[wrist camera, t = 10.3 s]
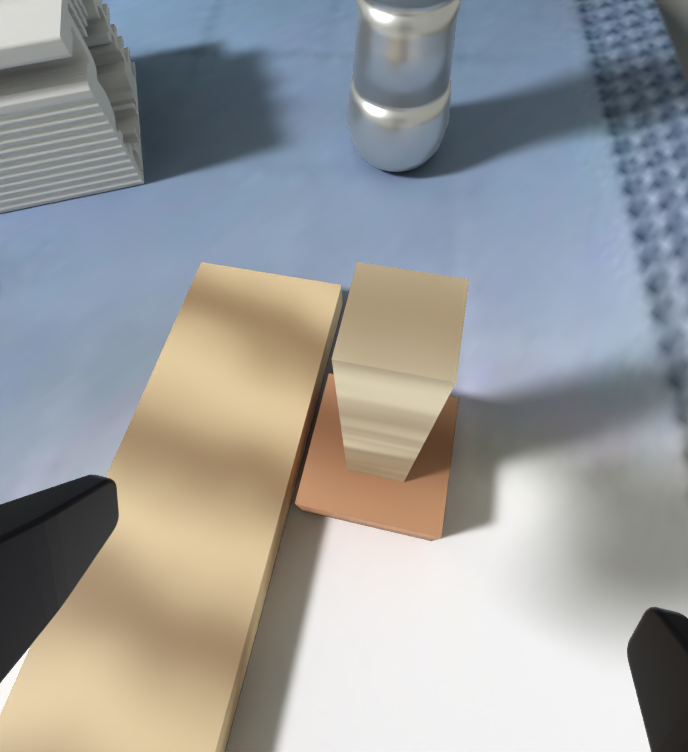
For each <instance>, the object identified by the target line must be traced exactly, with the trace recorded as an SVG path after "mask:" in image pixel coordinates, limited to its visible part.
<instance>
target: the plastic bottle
mask: <svg viewBox="0 0 688 752" xmlns="http://www.w3.org/2000/svg"><path fill="white" fill-rule="evenodd" d="M460 2H461V0H356V7H357V15H356V31H355V48H354V64H353V76H352V80H351V85H350V91H349V99H348V109H347V121H348V126H349V131H350V136H351V140H352V143H353V146H354V147H355V149H356V150H357V152H358V153H359V154H360V156H361V157H362V158H363V159H364V160H365V161H366V162H367V163H369V164H370V165H372V166H373V167H376V168H378V169H381V170H385V171H391V172H402V171H408V170H412V169H414V168H417V167H419V166H420V165H422V164H424V163H425V162H426V161H427V160H428V159H429V158H430V157H431V156H432V155H434V154H435V153H436V151H437V150H438V148H439V147H440V144H441V142H442V139H443V136H444V134H445V131H446V129H447V126H448V123H449V114H450V101H451V80H450V76H451V67H452V58H453V49H454V40H455V31H456V22H457V15H458V10H459V6H460Z"/></svg>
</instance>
